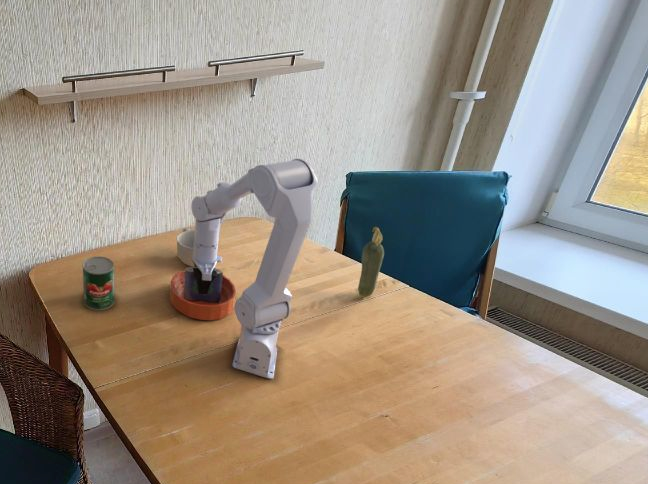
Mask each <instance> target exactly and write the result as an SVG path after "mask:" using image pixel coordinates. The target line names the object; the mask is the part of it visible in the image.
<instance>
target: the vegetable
mask: <svg viewBox="0 0 648 484" xmlns="http://www.w3.org/2000/svg"><path fill="white" fill-rule="evenodd" d="M373 232H374V233H373ZM372 233H373V236H372V238H371V241H369V242H367V243H365V245H364V247H363V249H362V252H361V253H362V254H361V272H360V277H359V282H358V286H357V291H358V295H359V296H360V297H361V298H367V297H370V296H372V295H373V293H374V292H375V289H376V287H377V283H378V278H379V274H380V270H381V267H382V265H383V261H384V256H385V249H384V247H383V245H382V244H381V243H382V242H383V234H382V232H381V231H380V228H379V227H377V226H374V227H373V228H372Z"/></svg>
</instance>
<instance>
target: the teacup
mask: <svg viewBox="0 0 648 484" xmlns="http://www.w3.org/2000/svg"><path fill="white" fill-rule="evenodd" d="M194 235H195V229H190V228H189V227H184V228H183V229H182V232H180V233H179V234H178V235H177V236H176V250H177V256H178V259H179V260H180V261H181V262H182V263H183V264H185V265H187V266H188V267H195V266H194V263H193V261H192V255H193V250H194Z"/></svg>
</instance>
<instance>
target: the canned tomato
mask: <svg viewBox="0 0 648 484" xmlns="http://www.w3.org/2000/svg"><path fill="white" fill-rule="evenodd" d="M81 266H82V282H83V283H82V284H83V302H84V306H86V307H87V308H88V309H90V310H93V311H105V310H108V309H110V308H111V307H113V305H114V304H115V267H114V266H115V264H114V261H113V260H111V259H110V258H108V257H106V256H92V257H88V258H87V259H85V260H83V262H82V265H81Z"/></svg>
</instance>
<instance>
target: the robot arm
mask: <svg viewBox="0 0 648 484" xmlns="http://www.w3.org/2000/svg"><path fill="white" fill-rule="evenodd" d="M318 183H319V180H318V178H317V176H316V174H315V171H314V170H313V167H312V165H311V164H310V163H309V162H308V161H307V160H305V159H302V158H294V159H292V160H287V161H281V162H276V163H269V164H257V165H256V166H254V167H253V168H250V169H248V170H247V173H245V174H244V175H242V176H241V177H240V178H238V179H237V180H236V181H235V182H233V183H232V182H226V181H221V182H218V183H217V184H216V187H215V188H214V189H210V190H207V191H206V194H205V195H201V196H194V198H193V199H192V200H191V206H190V207H191V208H190V209H191V213H192V216H193V217H194V219H195V222H194V230H195V235H194V250H193V255H192V261H193V263H194V266H195V267H198V268H193V273H194V276H195V278H196V280H197V286H198V292H199V294H207V293H208V291H209V288H210V285H211V283H212V281H213V280H214V279H215V278H216V276H217V271H213V269H214V268H216V266H217V264H218V263H222V261H223V257H222V256H221V255H218V252H219V251H218V250H219V241H220V240H219V238H220V230H221V229H220V228H221V225H222V224H223V221H224V218H225V217H226V215H227V213H228V212H230V211H231V210H234V209H235V208H238V207H239V206H240V205H241V204H242V200H243V198H245V197H246V196H249V195H251V194H254V196H255V197H256V199H257V200H258V202H259V203H260V205H261V206H262V208H263V209H264V211H265V212H266V214H267V216H269V217H271V218H273V219H274V223H273V226H272V229H271V231H270V235H269V238H268V241H267V243H266V244H267V245H266V247H265V250H264V253H263V257H262V259H261V262H260V264H259V265H260V266H259V268H258V271H257V273H256V278H255V280H254V282H252V283H251V284H250V285H249V286H247V288H245V289H244V290H243V291H242V292H241V293H242V294H241V295H240V297H239V298H237V299H235V303H234V314H235V316H236V319H237V321H238V322H239V323H240V325H241V326H240V336H239V338H238V342H237V345H236V349H235V353H234V357H233V361H232V367H233V368H234V369H237V370H240V371H243V372H246V373H249V374H252V375H255V376H260V377H261V378H262V377H263V378H266V379H269V380H273V379H274V377H275V368H276V363H277V354H278V347H277V343H278V337H279V330H280V326H282V325H283V321H284V320H286V319H288V318H289V317H290V316H291V312H292V308H291V303H292V299H293V295H292V294H291V293H292V292H291V291H290V290H289V289H288V288H287V286H288V283H289V281H290V278H291V275H292V272H293V270H294V267H295V264H296V263H297V260H298V257H299V254H300V252H301V249H302V247H303V243H304V241H305V238H306V236H307V234H308V231H309V228H310V226H311V223H312V219H313V196H314V193H315V191H316V189H317V186H318Z"/></svg>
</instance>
